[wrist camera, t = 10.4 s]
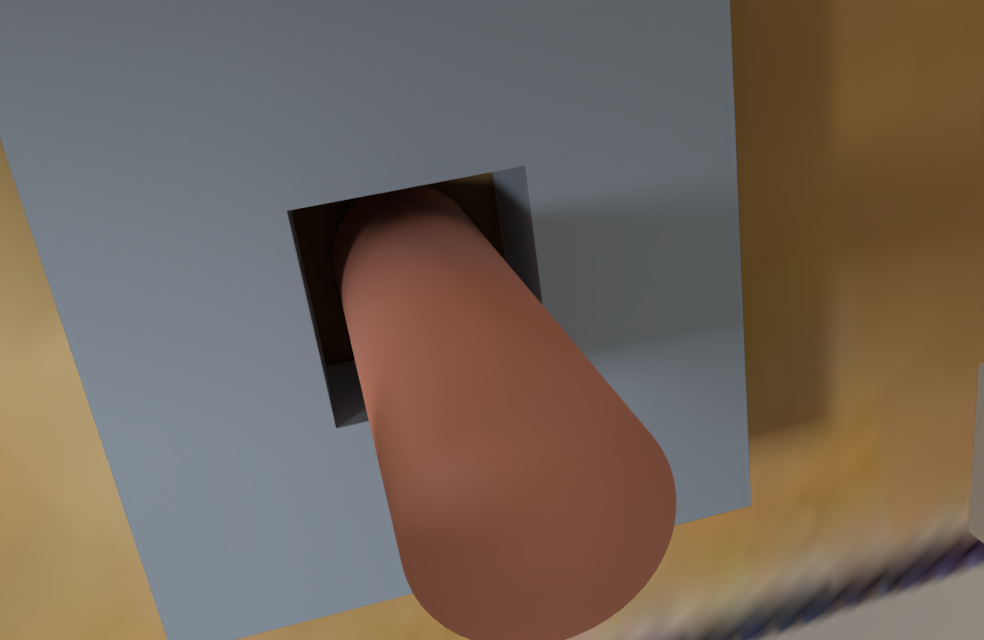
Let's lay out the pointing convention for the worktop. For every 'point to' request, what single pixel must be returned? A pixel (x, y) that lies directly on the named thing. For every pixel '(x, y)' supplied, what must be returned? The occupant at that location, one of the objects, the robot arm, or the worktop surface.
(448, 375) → the peg
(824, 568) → the worktop surface
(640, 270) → the socket slab
